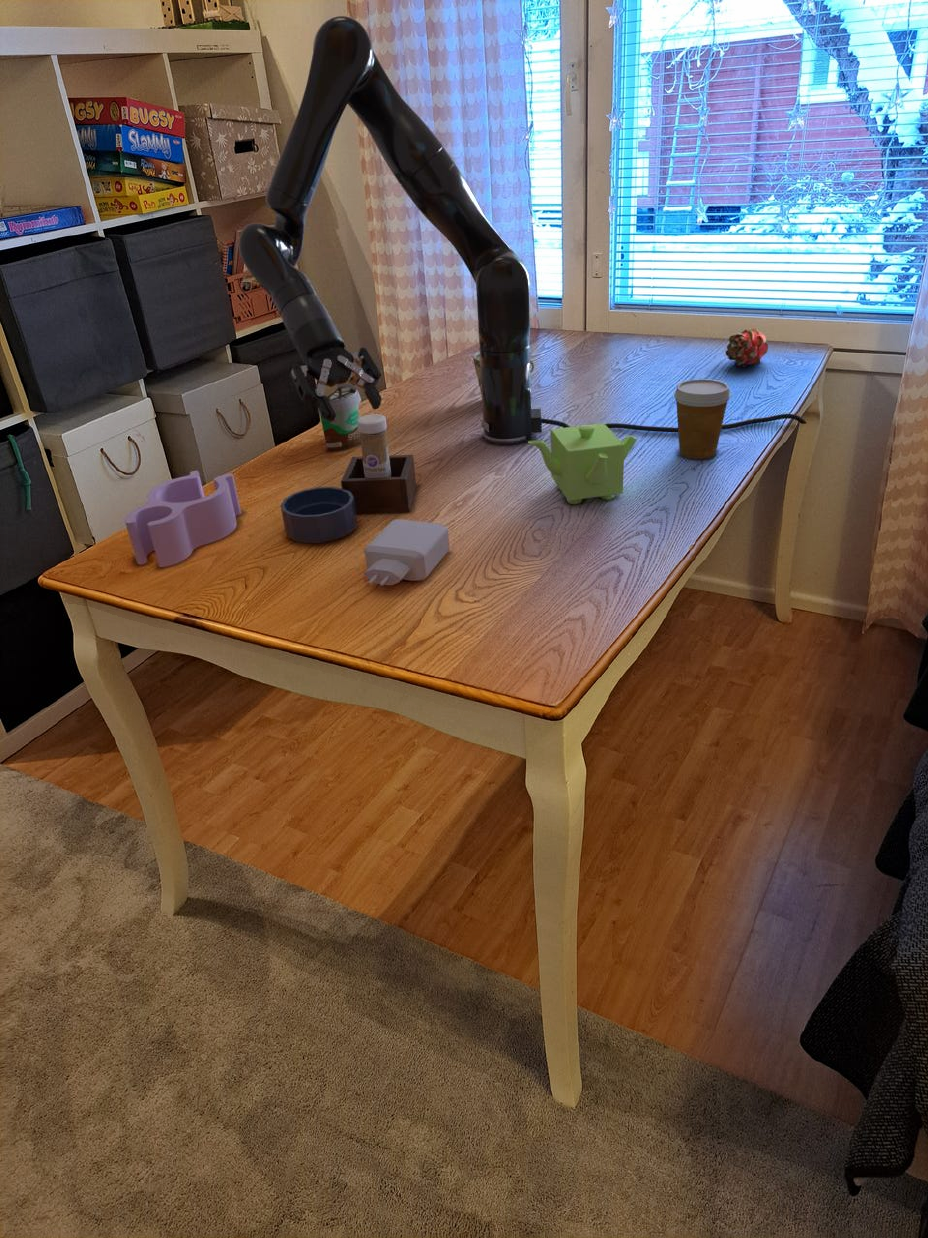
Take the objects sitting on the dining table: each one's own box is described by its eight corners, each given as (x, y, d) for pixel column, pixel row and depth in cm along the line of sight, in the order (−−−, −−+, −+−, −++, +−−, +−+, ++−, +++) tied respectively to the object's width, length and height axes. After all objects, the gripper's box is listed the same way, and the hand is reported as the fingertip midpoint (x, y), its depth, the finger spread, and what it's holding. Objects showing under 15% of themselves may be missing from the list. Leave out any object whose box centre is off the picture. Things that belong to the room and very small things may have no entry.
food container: (355, 454, 167) (348, 402, 162) (324, 453, 168) (316, 402, 163) (373, 431, 177) (367, 382, 172) (344, 431, 178) (337, 382, 173)
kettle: (605, 518, 136) (606, 449, 131) (525, 502, 144) (523, 436, 138) (644, 483, 147) (647, 417, 141) (568, 470, 154) (568, 407, 148)
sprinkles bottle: (366, 501, 146) (355, 423, 139) (367, 490, 150) (357, 413, 142) (394, 499, 146) (384, 421, 139) (394, 488, 150) (385, 411, 142)
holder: (416, 486, 152) (413, 454, 149) (409, 512, 143) (405, 478, 140) (356, 488, 153) (352, 456, 150) (345, 514, 144) (340, 481, 141)
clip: (185, 570, 131) (174, 527, 127) (116, 561, 134) (103, 520, 131) (254, 513, 146) (246, 474, 143) (191, 507, 150) (181, 469, 147)
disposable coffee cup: (730, 446, 158) (736, 379, 152) (719, 465, 151) (725, 396, 145) (677, 441, 162) (681, 376, 156) (664, 460, 155) (668, 392, 149)
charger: (347, 595, 121) (393, 546, 133) (408, 604, 118) (450, 553, 130) (342, 564, 119) (390, 518, 130) (404, 573, 115) (447, 524, 127)
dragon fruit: (729, 378, 197) (750, 372, 205) (763, 359, 191) (783, 353, 199) (713, 344, 196) (734, 339, 205) (746, 323, 190) (767, 319, 199)
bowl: (362, 514, 144) (358, 485, 141) (350, 545, 134) (346, 515, 132) (295, 516, 145) (290, 487, 142) (278, 547, 135) (273, 517, 133)
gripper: (277, 324, 140) (322, 411, 138) (354, 308, 147) (399, 390, 145) (269, 352, 146) (312, 435, 144) (343, 335, 153) (385, 414, 151)
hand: (355, 412), depth 144 cm, fingers open, 8 cm apart
